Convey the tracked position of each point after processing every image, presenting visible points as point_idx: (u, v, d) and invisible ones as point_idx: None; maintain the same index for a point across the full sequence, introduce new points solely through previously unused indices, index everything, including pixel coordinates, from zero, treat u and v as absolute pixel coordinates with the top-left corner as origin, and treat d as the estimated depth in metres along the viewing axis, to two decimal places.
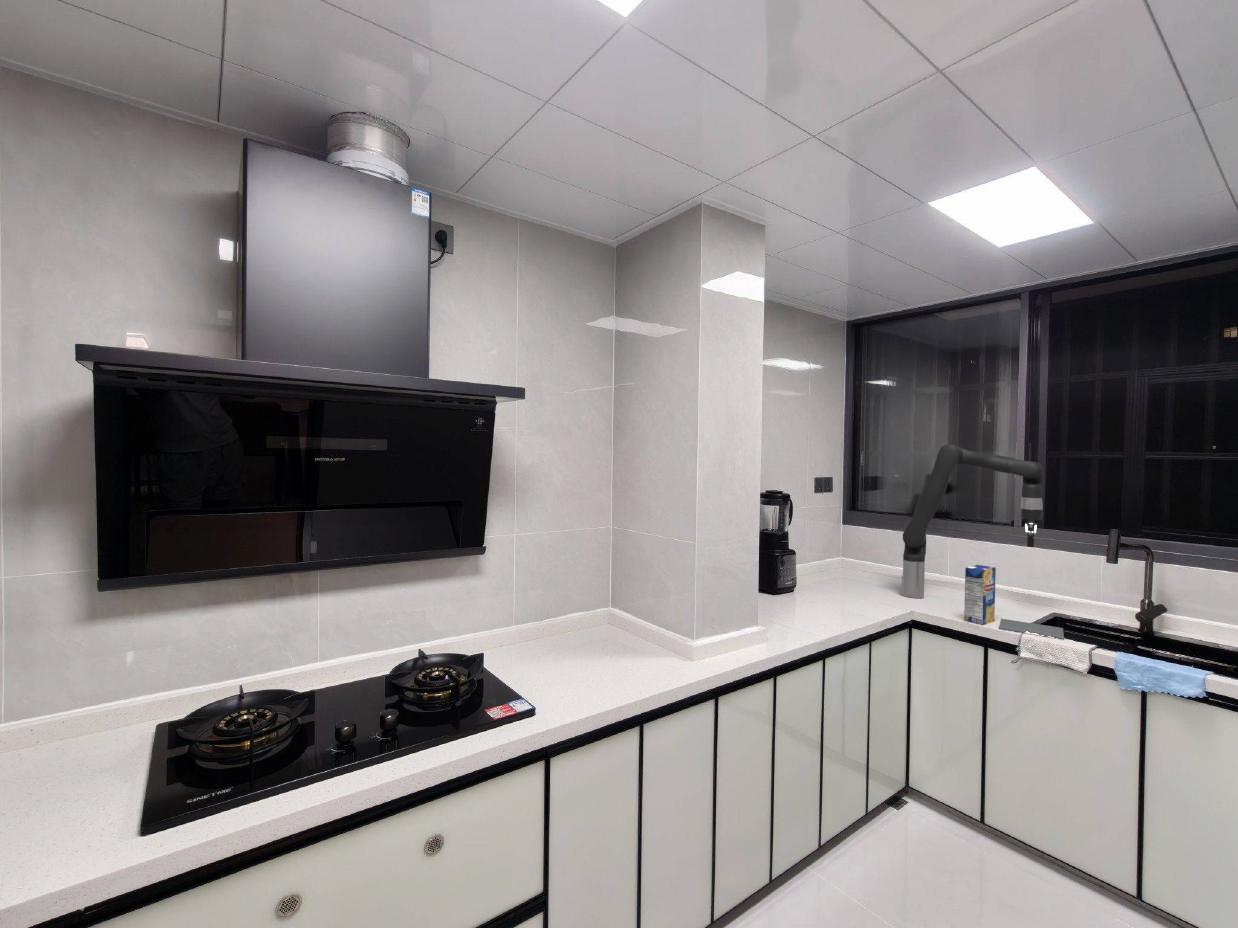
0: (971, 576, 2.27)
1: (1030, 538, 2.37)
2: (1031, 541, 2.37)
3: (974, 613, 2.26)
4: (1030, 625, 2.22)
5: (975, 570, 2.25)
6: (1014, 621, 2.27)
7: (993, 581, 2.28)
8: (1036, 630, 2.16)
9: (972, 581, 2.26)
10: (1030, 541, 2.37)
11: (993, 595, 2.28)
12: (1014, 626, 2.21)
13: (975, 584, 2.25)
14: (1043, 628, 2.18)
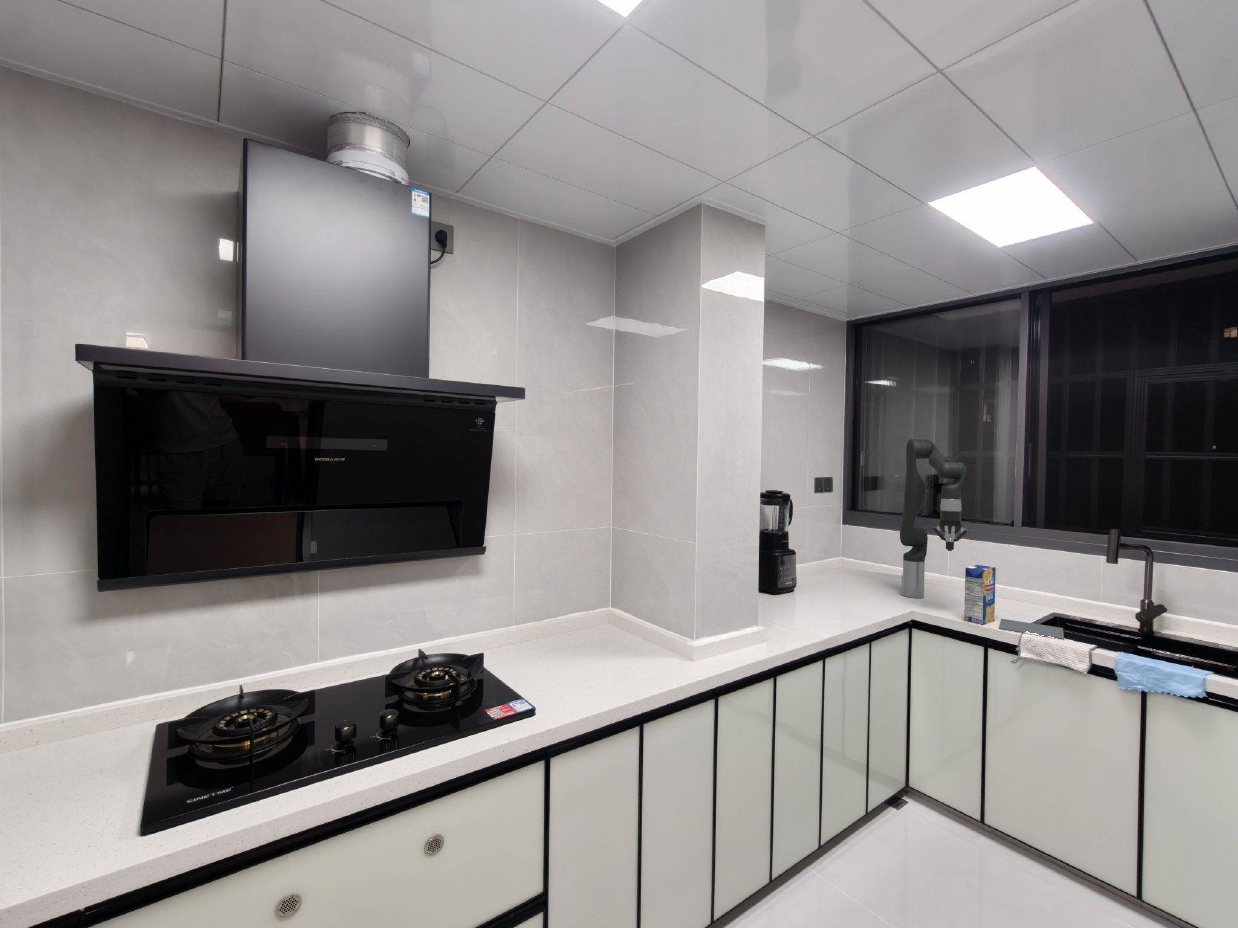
0: (971, 576, 2.27)
1: None
2: (953, 545, 2.35)
3: (974, 613, 2.26)
4: (1030, 625, 2.22)
5: (975, 570, 2.25)
6: (1014, 621, 2.27)
7: (993, 581, 2.28)
8: (1036, 630, 2.16)
9: (972, 581, 2.26)
10: (953, 545, 2.34)
11: (993, 595, 2.28)
12: (1014, 626, 2.21)
13: (975, 584, 2.25)
14: (1043, 628, 2.18)
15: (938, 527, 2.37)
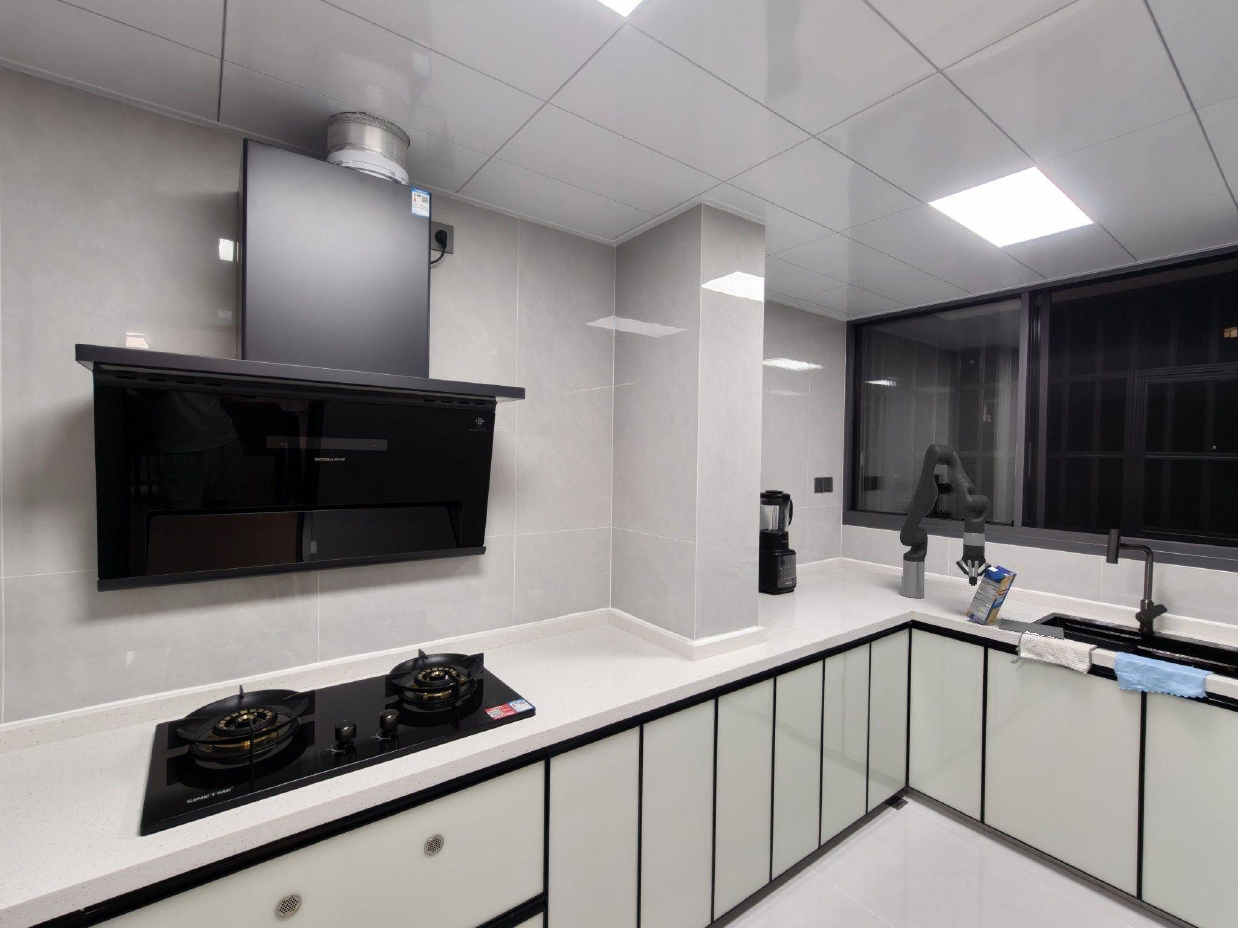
0: (989, 578, 2.21)
1: None
2: None
3: (978, 612, 2.24)
4: (1030, 625, 2.22)
5: (996, 574, 2.19)
6: (1014, 621, 2.27)
7: (1009, 586, 2.24)
8: (1036, 630, 2.16)
9: (988, 583, 2.22)
10: None
11: (1003, 598, 2.25)
12: (1014, 626, 2.21)
13: (991, 586, 2.21)
14: (1043, 628, 2.18)
15: (961, 561, 2.32)
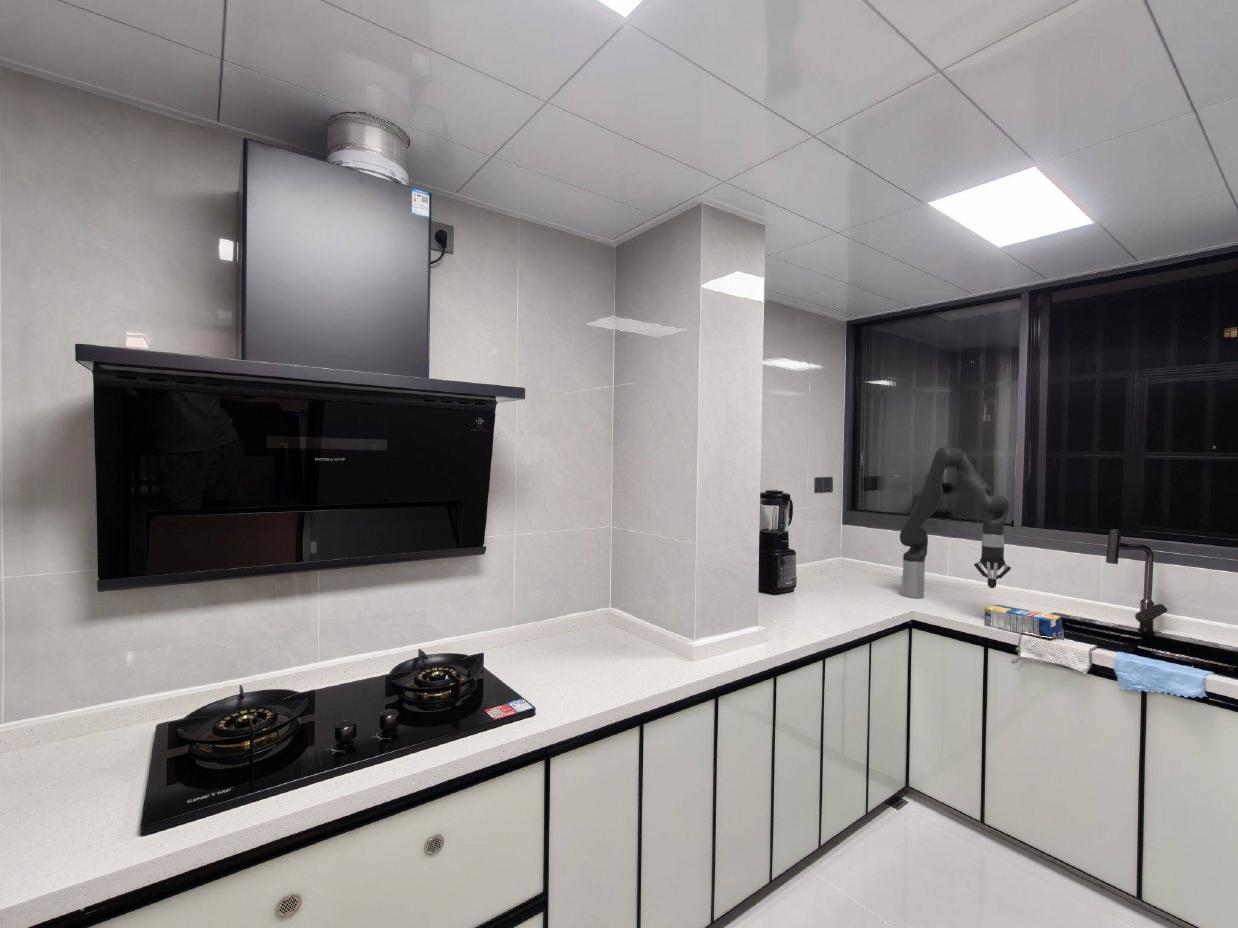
0: (1039, 625, 2.08)
1: None
2: None
3: (995, 619, 2.20)
4: None
5: (1048, 630, 2.05)
6: None
7: None
8: None
9: (1033, 624, 2.09)
10: None
11: None
12: None
13: (1031, 627, 2.10)
14: None
15: (979, 563, 2.28)
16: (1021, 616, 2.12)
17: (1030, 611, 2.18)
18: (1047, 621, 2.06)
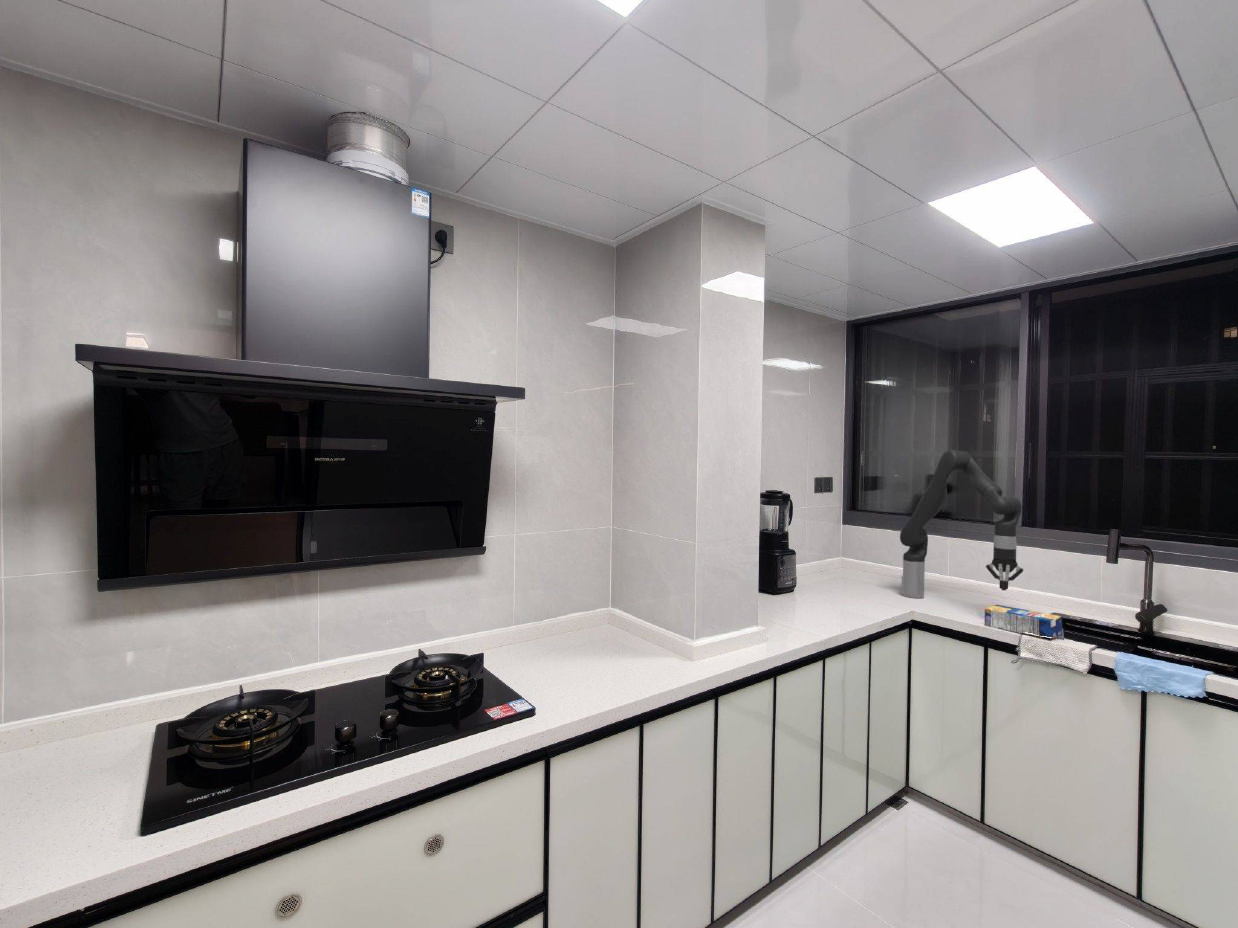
0: (1039, 625, 2.08)
1: None
2: None
3: (995, 619, 2.20)
4: None
5: (1048, 630, 2.05)
6: None
7: None
8: None
9: (1033, 624, 2.09)
10: None
11: None
12: None
13: (1031, 627, 2.10)
14: None
15: (991, 565, 2.26)
16: (1021, 616, 2.12)
17: (1030, 611, 2.18)
18: (1047, 621, 2.06)
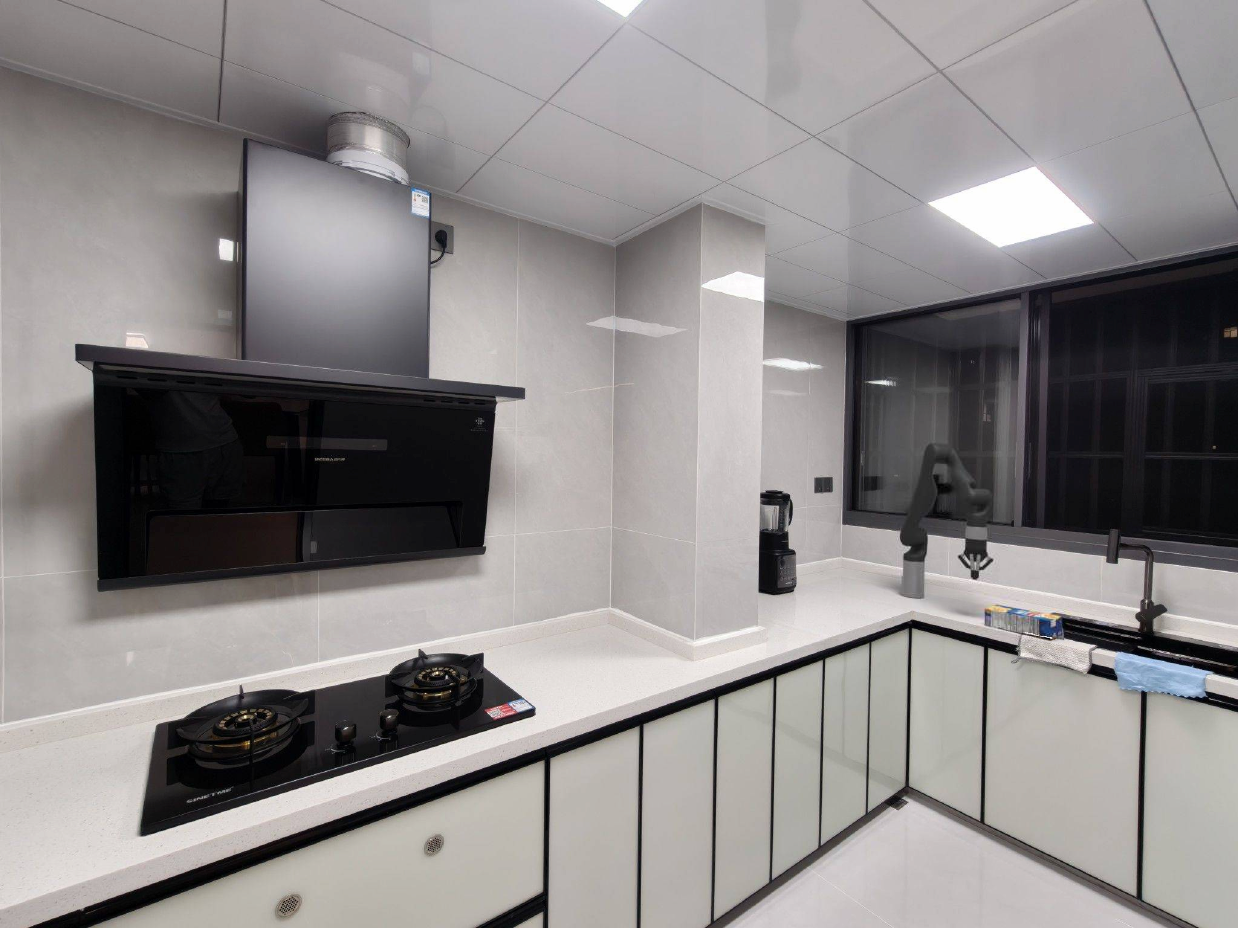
0: (1039, 625, 2.08)
1: None
2: (978, 573, 2.29)
3: (995, 619, 2.20)
4: None
5: (1048, 630, 2.05)
6: None
7: None
8: None
9: (1033, 624, 2.09)
10: (978, 574, 2.29)
11: None
12: None
13: (1031, 627, 2.10)
14: None
15: (963, 555, 2.32)
16: (1021, 616, 2.12)
17: (1030, 611, 2.18)
18: (1047, 621, 2.06)
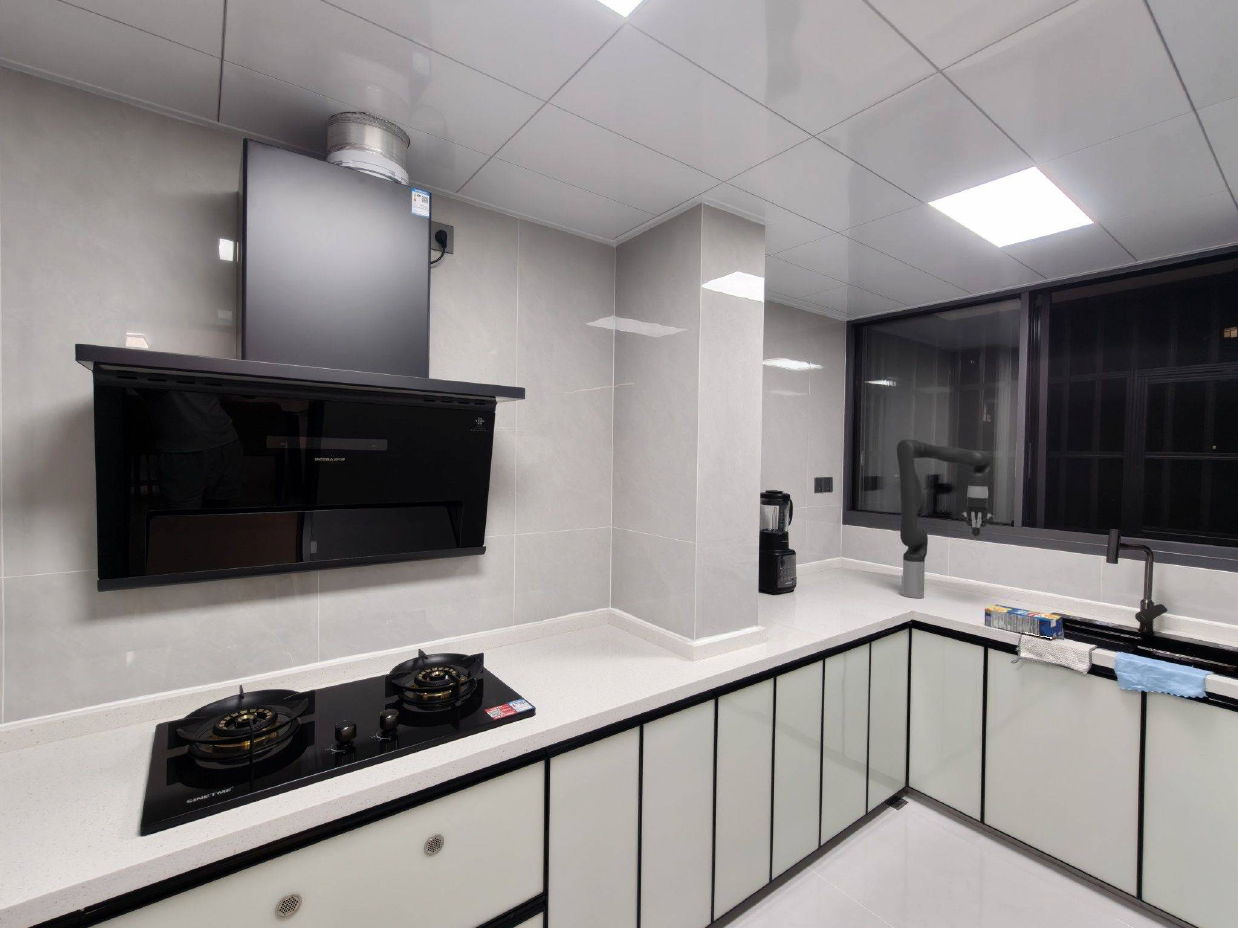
0: (1039, 625, 2.08)
1: None
2: None
3: (995, 619, 2.20)
4: None
5: (1048, 630, 2.05)
6: None
7: None
8: None
9: (1033, 624, 2.09)
10: (979, 530, 2.44)
11: None
12: None
13: (1031, 627, 2.10)
14: None
15: (965, 513, 2.47)
16: (1021, 616, 2.12)
17: (1030, 611, 2.18)
18: (1047, 621, 2.06)
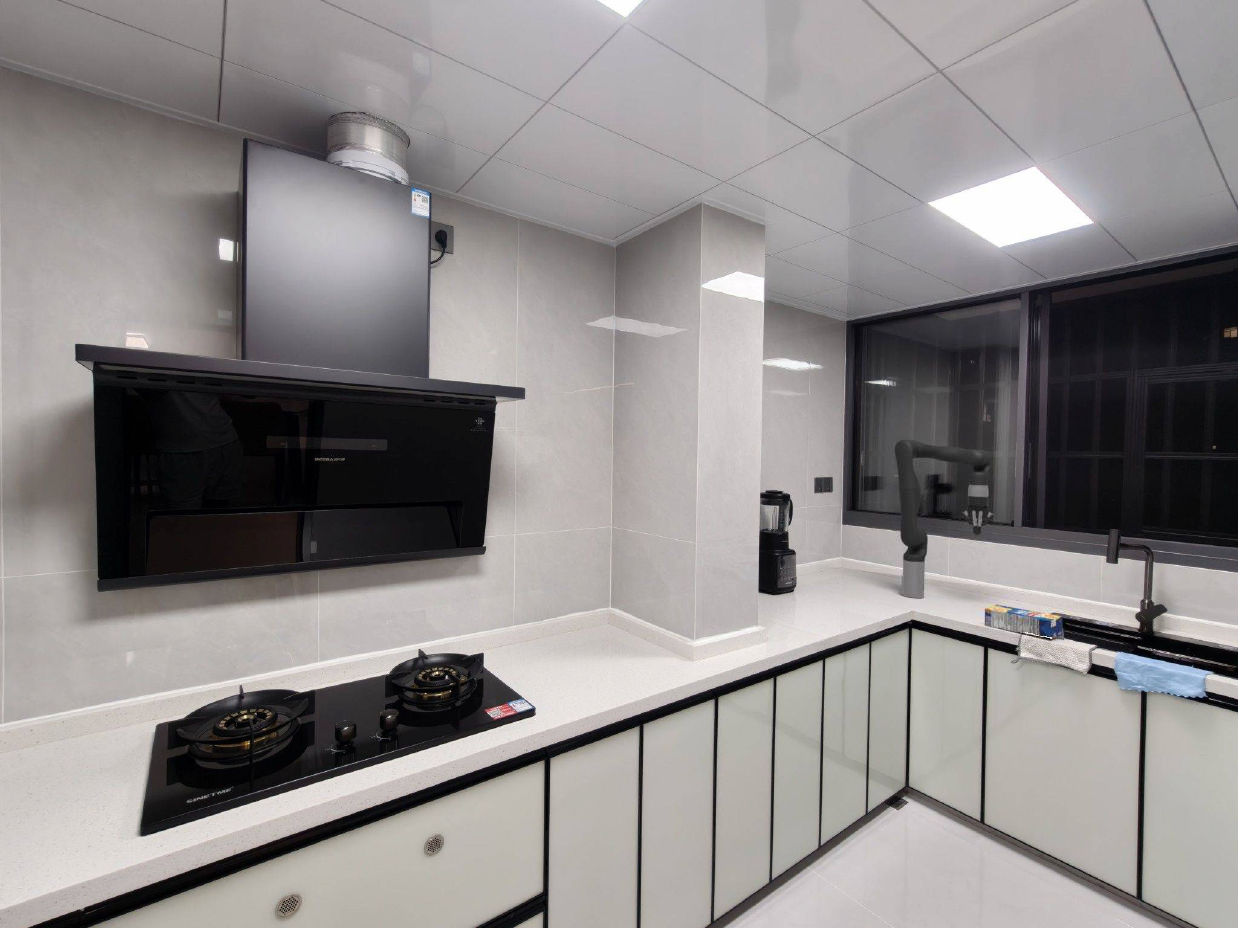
0: (1039, 625, 2.08)
1: None
2: None
3: (995, 619, 2.20)
4: None
5: (1048, 630, 2.05)
6: None
7: None
8: None
9: (1033, 624, 2.09)
10: (980, 529, 2.45)
11: None
12: None
13: (1031, 627, 2.10)
14: None
15: (966, 512, 2.48)
16: (1021, 616, 2.12)
17: (1030, 611, 2.18)
18: (1047, 621, 2.06)
